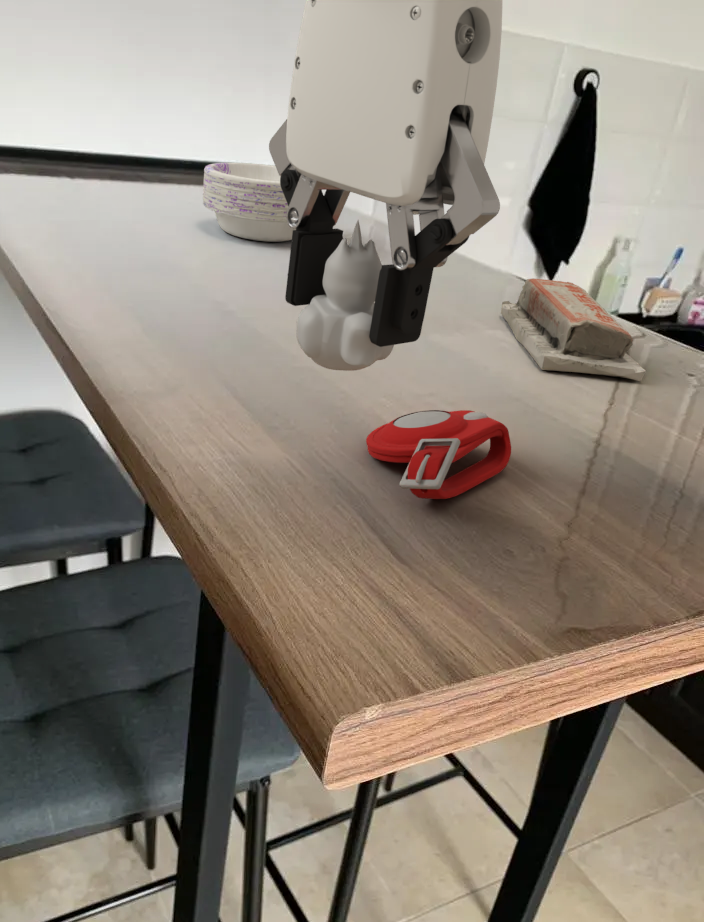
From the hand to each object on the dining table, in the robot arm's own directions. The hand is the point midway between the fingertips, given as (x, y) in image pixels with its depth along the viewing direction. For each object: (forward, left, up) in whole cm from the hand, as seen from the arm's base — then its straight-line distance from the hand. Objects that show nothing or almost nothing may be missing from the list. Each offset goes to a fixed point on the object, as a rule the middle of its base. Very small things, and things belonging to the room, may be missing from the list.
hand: (350, 318), depth 46 cm
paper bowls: (-40, -60, -11) cm, 73 cm away
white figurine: (0, 0, -3) cm, 3 cm away
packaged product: (-44, -13, -12) cm, 47 cm away
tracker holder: (-9, 0, -12) cm, 15 cm away
